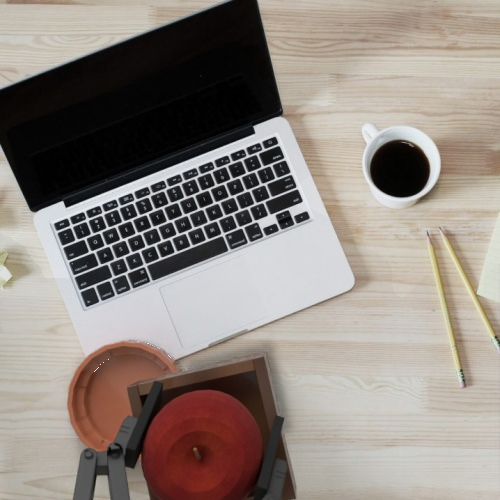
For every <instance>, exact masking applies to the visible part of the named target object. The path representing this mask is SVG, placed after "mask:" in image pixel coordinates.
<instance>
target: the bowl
mask: <svg viewBox="0 0 500 500" xmlns="http://www.w3.org/2000/svg"><path fill="white" fill-rule="evenodd" d="M137 341H138V340H134V341H125V340H121V341H117V342H112V343H113V344H112V343H108V344H105V345H103V346H101V347H100V348H98V349H96V350H95V351H93V352H91V353H90V354H88V355H87V356H86V358H85V359H84V360H83V361H82V362H81V363H80V364H79V366H78V367H77V368H76V369H75V372H74V374H73V376H72V379H71V380H70V384H69V386H68V394H67V403H66V404H67V406H66V407H67V411H68V417H69V421H70V425H71V427H72V428H73V430H74V432H75V434H76V436H77V437H78V440H79V441H80V442H81V443H82V444H83V445H84V446H86V447H87V448H92V449H94V450H96V451H106V450H107V447H108V445H109V444H110V443H112V442H114V440H115V438H116V436H117V433H118V431H119V429H120V427H121V424H122V422H123V420H124V419H125V418H126V417H127V416H128V415H129V416H132V411H131V407H130V402H129V397H128V392H127V386H129V385H131V384H133V383H135V382H137V381H141V380H145V379H150V378H154V377H159V376H163V375H168V374H172V373H177V372H181V371H182V369H181V367H180V365H179V364H178V362H177V360H176V359H174V358H173V356H171V355H170V354H169V353H168V352H167V351H166V350H165V349H163V348H161V347H160V346H157V345H154V344H153V343H150V342H148V341H143V340H140V341H141V342H137ZM145 342H146V343H145ZM147 343H149V344H147ZM150 344H151V345H150ZM152 345H153V346H152ZM154 346H155V347H154ZM157 347H158V348H157ZM159 348H160V349H159ZM162 350H163V351H162ZM168 355H169V356H170V357H171V358H170V357H169V356H168ZM108 359H109V360H108ZM103 362H104V363H103ZM100 364H101V365H100ZM98 367H99V368H98ZM97 368H98V369H97ZM96 369H97V370H96ZM95 370H96V371H95ZM94 371H95V372H94ZM132 417H133V416H132ZM137 462H141V454H140V456H139V459H138V461H137Z"/></svg>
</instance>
